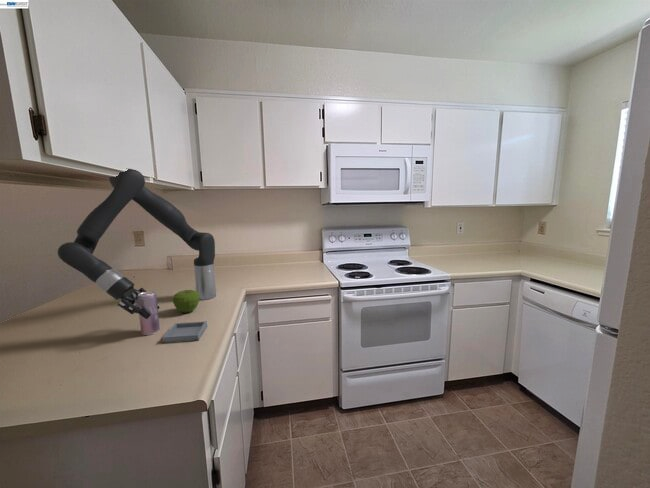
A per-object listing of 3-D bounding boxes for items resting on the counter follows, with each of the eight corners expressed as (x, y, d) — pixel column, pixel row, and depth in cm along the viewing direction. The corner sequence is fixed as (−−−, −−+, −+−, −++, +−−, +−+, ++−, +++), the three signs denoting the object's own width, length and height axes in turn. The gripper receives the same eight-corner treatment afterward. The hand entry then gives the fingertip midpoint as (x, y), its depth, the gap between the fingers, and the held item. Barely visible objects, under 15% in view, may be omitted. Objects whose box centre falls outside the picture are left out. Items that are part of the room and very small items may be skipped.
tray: (175, 328, 108) (175, 323, 107) (207, 326, 109) (206, 321, 109) (162, 343, 96) (162, 337, 96) (198, 340, 98) (197, 334, 98)
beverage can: (151, 327, 109) (147, 290, 106) (163, 329, 107) (159, 291, 105) (137, 334, 103) (132, 295, 101) (149, 336, 101) (145, 296, 99)
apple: (173, 318, 117) (171, 295, 116) (174, 309, 127) (172, 288, 125) (201, 313, 122) (199, 291, 121) (200, 305, 131) (199, 285, 130)
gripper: (110, 282, 94) (151, 313, 97) (133, 271, 108) (168, 299, 111) (94, 298, 94) (136, 329, 97) (119, 285, 108) (155, 312, 111)
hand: (153, 313), depth 104 cm, fingers open, 6 cm apart
